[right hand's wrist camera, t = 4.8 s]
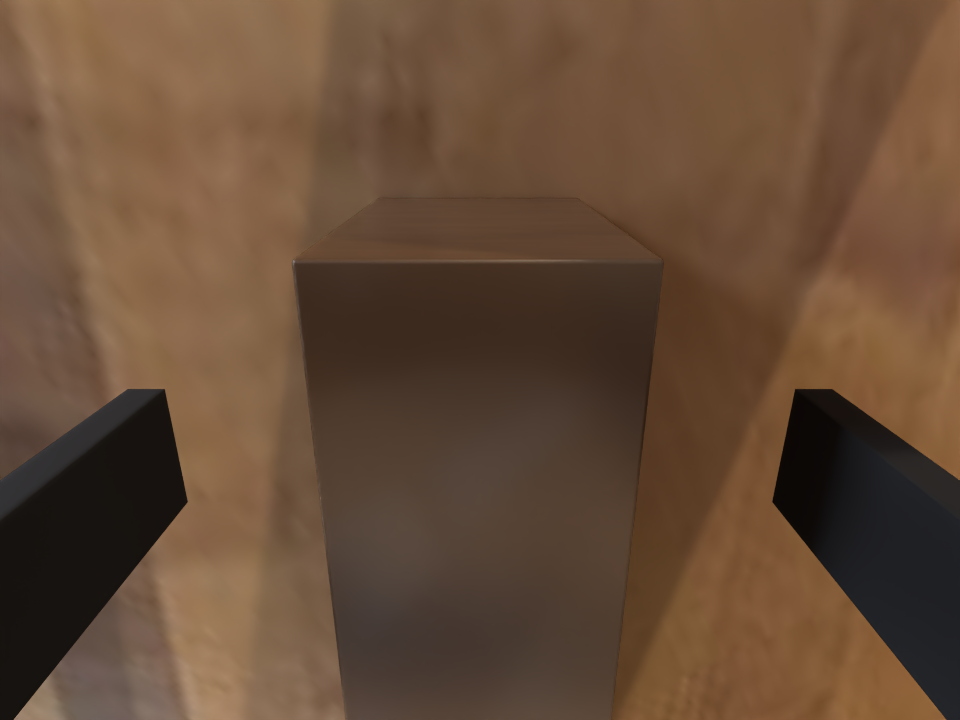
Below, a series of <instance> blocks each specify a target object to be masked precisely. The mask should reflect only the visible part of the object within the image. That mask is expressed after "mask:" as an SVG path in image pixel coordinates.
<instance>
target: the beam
mask: <svg viewBox="0 0 960 720" xmlns="http://www.w3.org/2000/svg"><path fill="white" fill-rule="evenodd" d="M663 265H664V263H663V260H662V259H661V258H660V257H658V256H657V255H656V254H654V253H653V252H651V251H650V250H649V249H647V248H646V247H644V246H643V245H642V244H640V243H639V242H638V241H636V240H635V239H633V238H632V237H631V236H629V235H628V234H627V233H625V232H624V231H622V230H621V229H620V228H618V227H617V226H615V225H614V224H613V223H611V222H610V221H609V220H607V219H606V218H604V217H603V216H602V215H600V214H599V213H598V212H596V211H595V210H593V209H592V208H591V207H589V206H588V205H586V204H585V203H584V202H582V201H581V200H580V199H578V198H379V199H377V200H375V201H374V202H373V203H371V204H370V205H369V206H367V207H366V208H364V209H363V210H362V211H360V212H359V213H357V214H356V215H355V216H353V217H352V218H350V219H349V220H348V221H346V222H345V223H344V224H342V225H341V226H339V227H338V228H337V229H335V230H334V231H332V232H331V233H330V234H328V235H327V236H325V237H324V238H323V239H321V240H320V241H319V242H317V243H316V244H314V245H313V246H312V247H310V248H309V249H307V250H306V251H305V252H303V253H302V254H300V255H299V256H298V257H296V258H295V259H294V260H293V262H292V268H293V276H294V285H295V293H296V302H297V310H298V319H299V327H300V336H301V344H302V353H303V361H304V370H305V378H306V387H307V395H308V404H309V412H310V421H311V429H312V438H313V446H314V455H315V463H316V472H317V480H318V488H319V497H320V505H321V514H322V522H323V531H324V539H325V548H326V556H327V565H328V573H329V582H330V590H331V599H332V607H333V616H334V624H335V633H336V641H337V650H338V658H339V667H340V675H341V684H342V692H343V701H344V709H345V718H346V720H611V717H612V708H613V700H614V691H615V682H616V674H617V665H618V656H619V648H620V639H621V630H622V622H623V613H624V604H625V595H626V587H627V578H628V569H629V561H630V552H631V543H632V535H633V526H634V517H635V508H636V500H637V491H638V482H639V474H640V465H641V456H642V448H643V439H644V430H645V422H646V413H647V404H648V395H649V387H650V378H651V369H652V361H653V352H654V343H655V335H656V326H657V317H658V308H659V300H660V291H661V282H662V274H663Z"/></svg>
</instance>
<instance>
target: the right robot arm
mask: <svg viewBox="0 0 960 720" xmlns="http://www.w3.org/2000/svg"><path fill="white" fill-rule="evenodd" d="M187 502H188V501H187V496H186V491H185V486H184V481H183V476H182V472H181V467H180V462H179V457H178V452H177V447H176V442H175V437H174V432H173V427H172V423H171V418H170V413H169V408H168V403H167V398H166V393H165V389H127V390H126V391H125V392H123V393H122V394H120V395H119V396H118V397H116V398H115V399H113V400H112V401H111V402H109V403H108V404H107V405H105V406H104V407H102V408H101V409H100V410H98V411H97V412H95V413H94V414H93V415H91V416H90V417H88V418H87V419H86V420H84V421H83V422H81V423H80V424H79V425H77V426H76V427H74V428H73V429H72V430H70V431H69V432H67V433H66V434H65V435H63V436H62V437H60V438H59V439H58V440H56V441H55V442H53V443H52V444H51V445H49V446H48V447H46V448H45V449H44V450H42V451H41V452H39V453H38V454H37V455H35V456H34V457H32V458H31V459H30V460H28V461H27V462H26V463H24V464H23V465H21V466H20V467H19V468H17V469H16V470H14V471H13V472H12V473H10V474H9V475H7V476H6V477H5V478H3V479H2V480H0V720H14V718H15V717H16V716H17V715H18V713H19V712H20V711H21V710H22V708H23V707H24V706H25V705H26V703H27V702H28V701H29V700H30V698H31V697H32V696H33V695H34V693H35V692H36V691H37V690H38V688H39V687H40V686H41V685H42V683H43V682H44V681H45V680H46V678H47V677H48V676H49V675H50V673H51V672H52V671H53V670H54V668H55V667H56V666H57V665H58V663H59V662H60V661H61V660H62V658H63V657H64V656H65V655H66V653H67V652H68V651H69V650H70V648H71V647H72V646H73V645H74V643H75V642H76V641H77V640H78V638H79V637H80V636H81V635H82V633H83V632H84V631H85V630H86V628H87V627H88V626H89V625H90V623H91V622H92V621H93V620H94V618H95V617H96V616H97V615H98V613H99V612H100V611H101V610H102V608H103V607H104V606H105V605H106V603H107V602H108V601H109V600H110V598H111V597H112V596H113V595H114V593H115V592H116V591H117V590H118V588H119V587H120V586H121V585H122V583H123V582H124V581H125V580H126V578H127V577H128V576H129V575H130V573H131V572H132V571H133V570H134V568H135V567H136V566H137V565H138V563H139V562H140V561H141V560H142V558H143V557H144V556H145V555H146V553H147V552H148V551H149V550H150V548H151V547H152V546H153V545H154V543H155V542H156V541H157V540H158V538H159V537H160V536H161V535H162V533H163V532H164V531H165V530H166V528H167V527H168V526H169V525H170V523H171V522H172V521H173V520H174V518H175V517H176V516H177V515H178V513H179V512H180V511H181V510H182V508H183V507H184V506H185V505H186V503H187ZM772 502H773V504H774V505H775V506H776V507H777V508H778V510H779V511H780V512H781V513H782V515H783V516H784V517H785V518H786V520H787V521H788V522H789V523H790V525H791V526H792V527H793V528H794V530H795V531H796V532H797V533H798V535H799V536H800V537H801V538H802V540H803V541H804V542H805V543H806V545H807V546H808V547H809V548H810V550H811V551H812V552H813V553H814V555H815V556H816V557H817V558H818V560H819V561H820V562H821V563H822V565H823V566H824V567H825V568H826V570H827V571H828V572H829V573H830V575H831V576H832V577H833V578H834V580H835V581H836V582H837V583H838V585H839V586H840V587H841V588H842V590H843V591H844V592H845V593H846V595H847V596H848V597H849V598H850V600H851V601H852V602H853V603H854V605H855V606H856V607H857V608H858V610H859V611H860V612H861V613H862V615H863V616H864V617H865V618H866V620H867V621H868V622H869V623H870V625H871V626H872V627H873V628H874V630H875V631H876V632H877V633H878V635H879V636H880V637H881V638H882V640H883V641H884V642H885V643H886V645H887V646H888V647H889V648H890V650H891V651H892V652H893V653H894V655H895V656H896V657H897V658H898V660H899V661H900V662H901V663H902V665H903V666H904V667H905V668H906V670H907V671H908V672H909V673H910V675H911V676H912V677H913V678H914V680H915V681H916V682H917V683H918V685H919V686H920V687H921V688H922V690H923V691H924V692H925V693H926V695H927V696H928V697H929V698H930V700H931V701H932V702H933V703H934V705H935V706H936V707H937V708H938V710H939V711H940V712H941V713H942V715H943V716H944V717H945V718H946V720H960V480H958V479H957V478H955V477H954V476H953V475H951V474H950V473H948V472H947V471H946V470H944V469H943V468H941V467H940V466H939V465H937V464H936V463H934V462H933V461H932V460H930V459H929V458H927V457H926V456H925V455H923V454H922V453H921V452H919V451H918V450H916V449H915V448H914V447H912V446H911V445H909V444H908V443H907V442H905V441H904V440H902V439H901V438H900V437H898V436H897V435H895V434H894V433H893V432H891V431H890V430H888V429H887V428H886V427H884V426H883V425H881V424H880V423H879V422H877V421H876V420H874V419H873V418H872V417H870V416H869V415H867V414H866V413H865V412H863V411H862V410H860V409H859V408H858V407H856V406H855V405H853V404H852V403H851V402H849V401H848V400H847V399H845V398H844V397H842V396H841V395H840V394H838V393H837V392H835V391H834V390H833V389H795V393H794V398H793V403H792V408H791V413H790V418H789V423H788V427H787V432H786V437H785V442H784V447H783V452H782V457H781V462H780V467H779V472H778V476H777V481H776V486H775V491H774V496H773V501H772Z"/></svg>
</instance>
